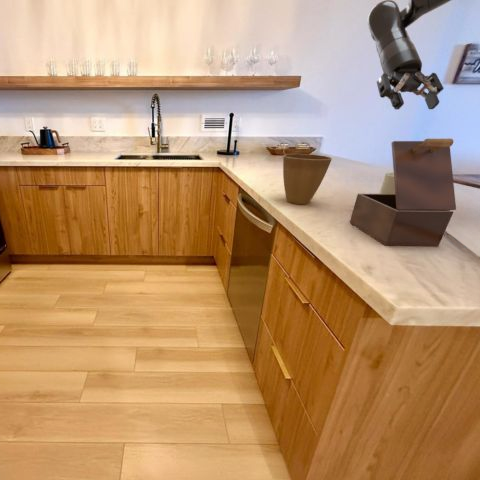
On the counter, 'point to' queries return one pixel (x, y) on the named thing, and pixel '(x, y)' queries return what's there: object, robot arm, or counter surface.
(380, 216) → the bread box
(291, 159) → the plant pot
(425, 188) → the box lid
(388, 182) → the cream yellow block
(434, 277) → the counter surface
